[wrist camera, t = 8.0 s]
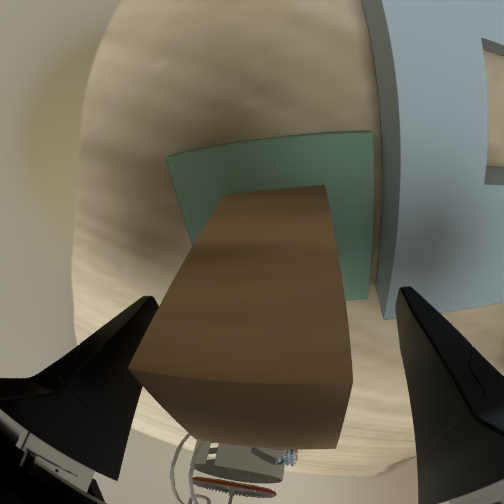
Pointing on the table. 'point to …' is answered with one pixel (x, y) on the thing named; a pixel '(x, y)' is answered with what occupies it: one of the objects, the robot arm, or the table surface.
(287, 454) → the woven mat
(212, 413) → the walnut block
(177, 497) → the french press
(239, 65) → the table surface
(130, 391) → the robot arm
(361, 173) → the green pad
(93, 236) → the table surface
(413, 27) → the pocket board
